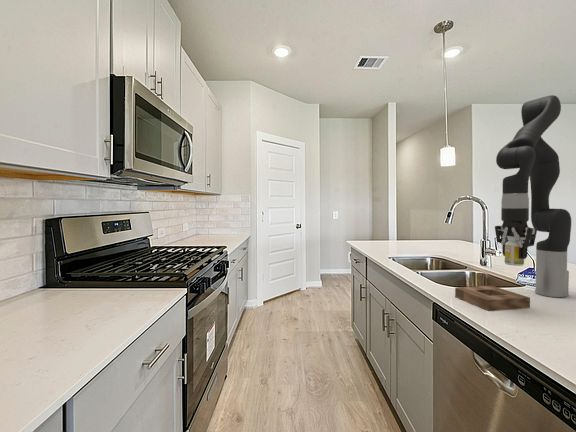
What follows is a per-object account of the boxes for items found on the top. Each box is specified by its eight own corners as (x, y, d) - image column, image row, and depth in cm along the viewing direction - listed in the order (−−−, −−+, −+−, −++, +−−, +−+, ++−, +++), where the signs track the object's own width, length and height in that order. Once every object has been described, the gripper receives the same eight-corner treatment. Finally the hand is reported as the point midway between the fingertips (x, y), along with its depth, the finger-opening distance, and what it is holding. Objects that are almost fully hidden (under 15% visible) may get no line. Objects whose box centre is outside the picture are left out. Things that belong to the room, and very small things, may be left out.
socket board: (492, 294, 123) (492, 285, 123) (530, 307, 107) (530, 297, 107) (455, 296, 120) (455, 287, 120) (488, 310, 104) (488, 300, 104)
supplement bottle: (502, 264, 107) (502, 236, 107) (507, 262, 111) (507, 235, 110) (521, 266, 103) (522, 237, 103) (526, 264, 106) (526, 236, 106)
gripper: (545, 207, 100) (544, 260, 100) (505, 206, 114) (505, 253, 115) (525, 207, 98) (524, 261, 99) (487, 207, 112) (487, 254, 113)
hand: (514, 257), depth 107 cm, fingers closed on supplement bottle, 5 cm apart
